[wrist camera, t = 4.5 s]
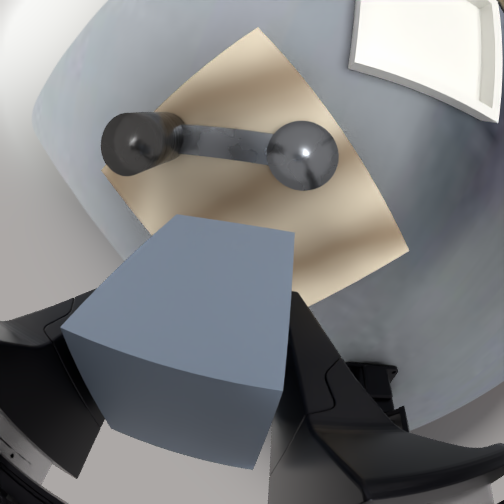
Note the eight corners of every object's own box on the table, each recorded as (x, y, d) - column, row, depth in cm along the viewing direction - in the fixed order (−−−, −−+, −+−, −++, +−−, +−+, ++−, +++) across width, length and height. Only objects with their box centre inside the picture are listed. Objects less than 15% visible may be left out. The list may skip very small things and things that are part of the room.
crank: (342, 128, 16) (357, 131, 12) (329, 193, 18) (338, 218, 14) (144, 106, 17) (102, 107, 13) (141, 164, 19) (100, 180, 15)
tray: (480, 120, 15) (498, 122, 12) (347, 69, 15) (354, 62, 13) (483, 7, 9) (497, 1, 7) (357, -47, 10) (363, -61, 8)
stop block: (275, 326, 11) (252, 469, 6) (178, 306, 11) (111, 428, 6) (294, 232, 9) (282, 391, 4) (176, 214, 9) (60, 326, 4)
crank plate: (403, 242, 20) (409, 251, 19) (246, 326, 26) (242, 338, 25) (260, 33, 15) (257, 26, 14) (111, 166, 21) (100, 170, 20)
